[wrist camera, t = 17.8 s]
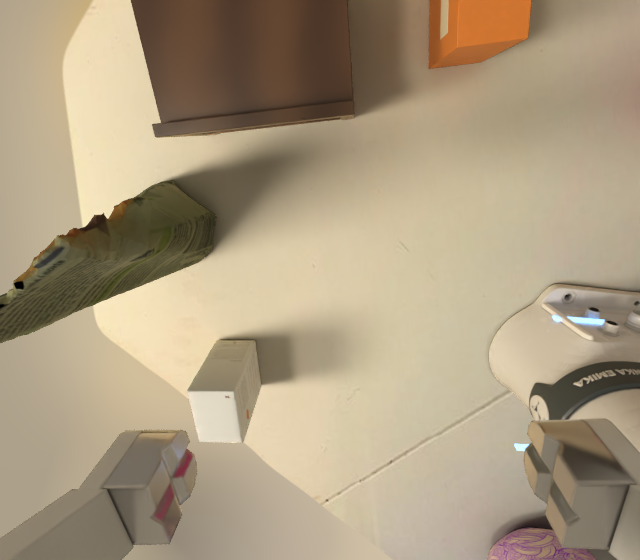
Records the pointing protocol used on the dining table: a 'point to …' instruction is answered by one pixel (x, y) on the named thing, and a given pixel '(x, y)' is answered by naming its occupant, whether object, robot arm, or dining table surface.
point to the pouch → (109, 258)
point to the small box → (225, 391)
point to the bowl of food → (535, 547)
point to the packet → (475, 29)
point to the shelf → (245, 63)
